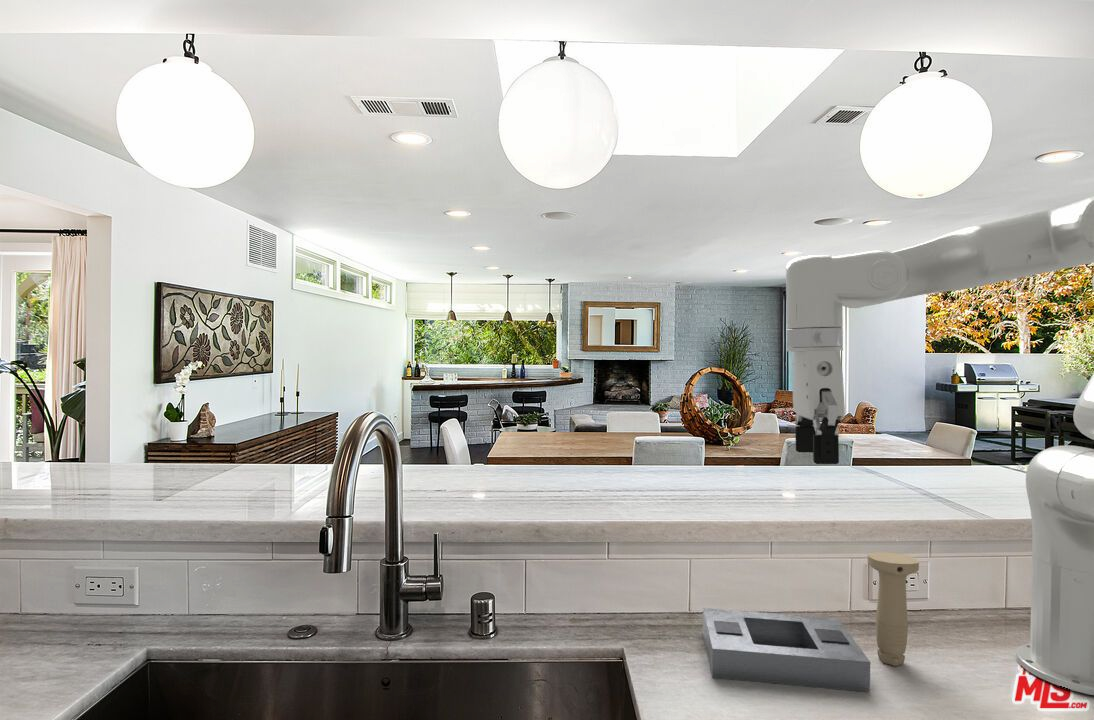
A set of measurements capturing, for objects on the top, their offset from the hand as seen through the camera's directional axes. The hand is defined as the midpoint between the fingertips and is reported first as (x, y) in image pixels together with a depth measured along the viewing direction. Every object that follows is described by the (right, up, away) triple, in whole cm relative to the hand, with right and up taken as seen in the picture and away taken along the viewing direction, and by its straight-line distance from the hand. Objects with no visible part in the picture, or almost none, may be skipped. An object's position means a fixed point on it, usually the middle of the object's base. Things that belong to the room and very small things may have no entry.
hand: (815, 457), depth 88 cm
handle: (+10, -29, -2) cm, 31 cm away
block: (-6, -29, -2) cm, 30 cm away
